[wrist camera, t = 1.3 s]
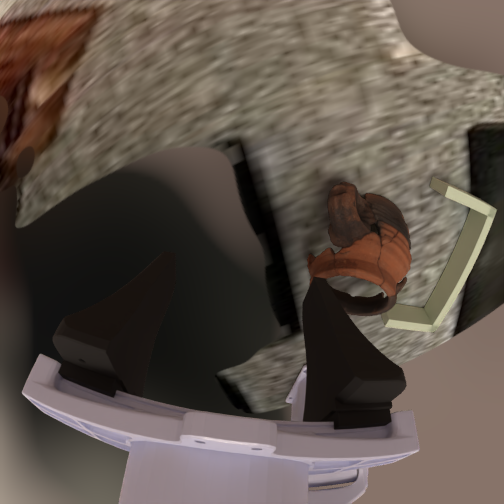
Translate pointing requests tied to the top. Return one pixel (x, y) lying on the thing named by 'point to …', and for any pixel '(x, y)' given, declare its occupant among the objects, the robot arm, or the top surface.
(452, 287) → the tray
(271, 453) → the robot arm
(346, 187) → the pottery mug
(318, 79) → the top surface
